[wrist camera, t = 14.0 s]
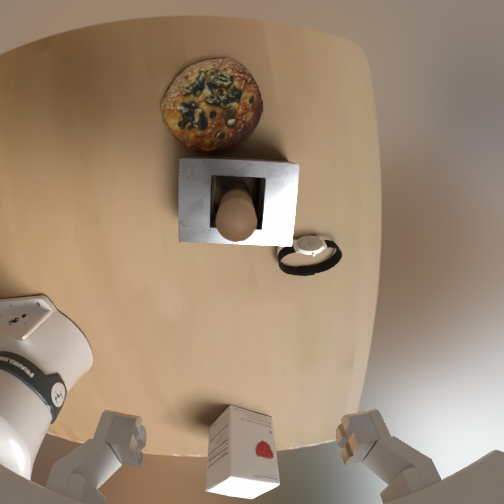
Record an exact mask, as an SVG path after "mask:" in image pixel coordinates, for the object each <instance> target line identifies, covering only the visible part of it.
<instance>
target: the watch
mask: <svg viewBox="0 0 504 504" xmlns="http://www.w3.org/2000/svg"><path fill="white" fill-rule="evenodd" d="M330 247H331V248H336V252H335V254H334V255H333V256H332V257H331V258H330V259H328V260H327V261H325V262H322V263H320V264H316V265H310V266H299V267H291V266H286V265H284V264H283V263H282V262H281V259H282V258H283V257H284V256H286V255H288V254H290V253H295V252H299V253H302V254H305V255H313V256H315V254H317V253H320V252H321V251H322V250H323V249H324V248H330ZM341 257H342V252H341V250H340V249H339V247H338V246H337V245H336V243H334V242H333V241H329V240H323V239H322V240H321V239H320V238H319V237H316V236H304V237H301V238H299V239H298V240H297V241H296V243H293V244H292V246H286V247H284V248H283V249H281V250H280V252H279V254H278V262H279V267H280V269H281V270H282V271H283V272H285V273H287V274H291V275H299V276H307V275H314V274H315V273H320V272H323V271H326V270H328V269H330V268H332V267H334V266H335V265H336V264H337V263H338V262H339V261H340V259H341Z"/></svg>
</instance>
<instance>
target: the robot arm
mask: <svg viewBox="0 0 504 504" xmlns="http://www.w3.org/2000/svg"><path fill="white" fill-rule="evenodd" d="M92 364H93V355H92V351H91V348H90V346H89V343H88V342H87V340H86V338H85V337H84V335H83V334H82V332H81V331H80V330H79V329H78V328H77V327H76V326H75V325H74V324H73V323H72V322H71V321H70V320H69V319H68V318H67V317H65V316H64V315H63V314H61V313H60V312H59V311H58V310H57V309H56V308H55V306H54V305H53V304H52V302H51V301H50V300H49V299H48V298H47V297H46V296H44V295H39V296H30V297H19V298H9V299H0V504H106V498H105V496H104V495H102V494H101V493H100V492H99V491H98V490H97V489H98V488H99V486H101V485H102V484H103V483H104V482H105V481H106V480H107V479H108V478H109V477H110V476H111V475H112V474H113V473H114V472H115V471H116V470H117V469H118V468H119V467H120V466H121V465H122V464H125V465H130V466H136V467H141V463H142V459H143V453H142V451H141V449H142V448H144V447H145V444H146V430H145V427H144V426H143V425H142V424H141V423H142V419H141V417H140V416H136V415H130V414H124V413H119V412H115V411H109V410H105V411H104V412H103V413H102V416H101V418H100V421H99V424H98V426H97V429H96V432H95V435H94V438H93V439H89V440H87V441H86V442H85V443H83V444H82V445H81V446H79V447H78V448H76V449H75V450H73V451H72V452H70V453H69V454H68V455H66V456H65V457H63V458H62V459H60V460H59V461H57V462H56V463H54V464H53V467H52V469H51V472H50V475H49V478H48V480H47V483H46V487H43V486H40V485H38V484H36V483H34V482H32V481H30V480H31V473H32V468H33V464H34V460H35V457H36V454H37V452H38V450H39V447H40V445H41V443H42V440H43V438H44V436H45V434H46V432H47V430H48V427H49V425H50V424H52V423H54V421H55V420H56V418H57V416H58V414H59V412H60V410H61V408H62V406H63V404H64V401H65V398H66V395H67V394H68V392H69V391H70V390H71V388H72V387H73V386H74V385H75V383H76V382H77V381H78V380H79V379H80V378H81V377H82V376H83V375H84V374H85V373H86V372H87V371H89V370H90V368H91V367H92ZM341 421H342V424H340V425H339V426H338V428H337V430H336V439H337V443H338V445H339V446H340V447H342V448H343V449H342V451H341V456H342V459H343V462H344V465H346V464H352V463H356V462H361V461H363V463H364V464H365V465H366V466H367V467H368V468H369V469H371V470H372V471H373V472H374V473H375V474H376V475H378V476H379V477H380V478H381V479H382V480H383V481H385V482H386V483H387V484H388V485H389V486H387V487H386V488H385V489H384V490H383V491H382V492H381V494H380V495H381V498H382V501H383V504H504V452H501V451H498V450H494V451H492V452H490V453H488V454H487V455H485V456H483V457H482V458H480V459H479V460H477V461H475V462H474V463H472V464H471V465H469V466H467V467H465V468H463V469H462V470H460V471H458V472H456V473H454V474H453V475H451V476H449V477H447V478H445V479H443V480H441V478H440V476H439V474H438V472H437V470H436V468H435V465H434V463H433V462H432V459H430V458H428V457H427V456H425V455H424V454H422V453H420V452H419V451H417V450H415V449H414V448H412V447H410V446H409V445H407V444H406V443H404V442H402V441H401V440H399V439H398V438H396V437H391V435H390V433H389V431H388V429H387V427H386V425H385V423H384V420H383V418H382V416H381V414H380V412H379V411H378V410H376V409H375V410H371V411H364V412H359V413H354V414H348V415H344V416H343V417H342V419H341Z"/></svg>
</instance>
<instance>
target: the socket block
mask: <svg viewBox="0 0 504 504" xmlns="http://www.w3.org/2000/svg"><path fill="white" fill-rule="evenodd" d="M299 165H300V164H296V163H293V162H289V161H280V160H267V159H252V158H231V157H185V158H180V159H179V195H178V218H179V242H199V243H224V244H248V245H272V246H292V237H293V228H294V219H295V209H296V199H297V188H298V177H299ZM216 175H218V176H242V177H261V178H260V192H259V207H258V215H256V217H257V226H256V229H255V231H254V233H253V234H252V235H251V236H250V237H249V238H248V239H246V240H244V241H240V242H233V241H229V240H227V239H225V238H223V237H222V236H221V235H220V233H219V232H218V230H217V227H216V216H217V214H214V209H215V181H216Z"/></svg>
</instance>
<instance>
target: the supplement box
mask: <svg viewBox="0 0 504 504" xmlns="http://www.w3.org/2000/svg"><path fill="white" fill-rule="evenodd" d="M279 484H280V480H279V471H278V464H277V457H276V447H275V439H274V431H273V422H272V417H269V416H265V415H262V414H258V413H255V412H252V411H248V410H245V409H242V408H239V407H236V406H233V405H230V406H229V407H228V408H227V409H226V410H225V411H224V412H223V413H222V414H221V415H220V416H219V417H218V418H217V420H216V421H215V422H214V423H213V424H212V425H211V426H210V431H209V445H208V460H207V477H206V489H205V490H206V491H208V492H213V493H218V494H223V495H228V496H234V497H242V498H249V499H253V498H255V497H257V496H259V495H261V494H263V493H264V492H267V491H269V490H271V489H273V488H275V487H277V486H278V485H279Z"/></svg>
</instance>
